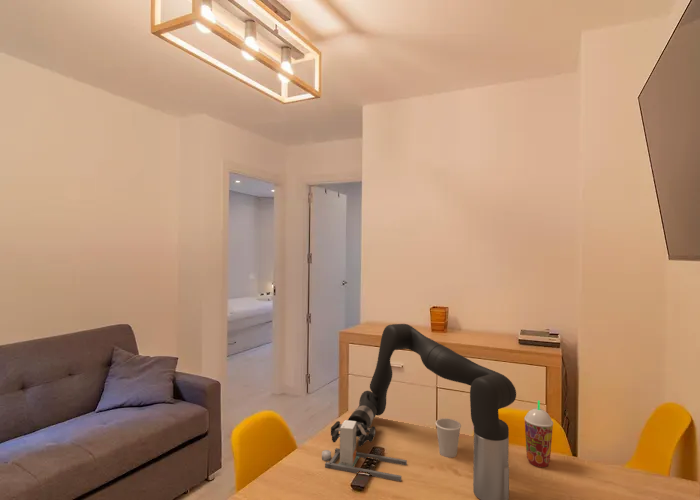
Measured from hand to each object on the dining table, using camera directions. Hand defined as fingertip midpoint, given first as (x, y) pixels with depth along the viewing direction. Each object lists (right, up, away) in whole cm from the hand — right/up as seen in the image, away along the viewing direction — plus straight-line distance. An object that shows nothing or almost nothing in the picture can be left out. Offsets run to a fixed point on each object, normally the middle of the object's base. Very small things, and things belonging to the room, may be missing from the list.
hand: (346, 441), depth 126 cm
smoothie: (+62, -8, +2) cm, 62 cm away
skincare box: (+1, -7, +2) cm, 8 cm away
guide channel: (+5, -8, 0) cm, 9 cm away
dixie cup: (+34, -8, +8) cm, 36 cm away
